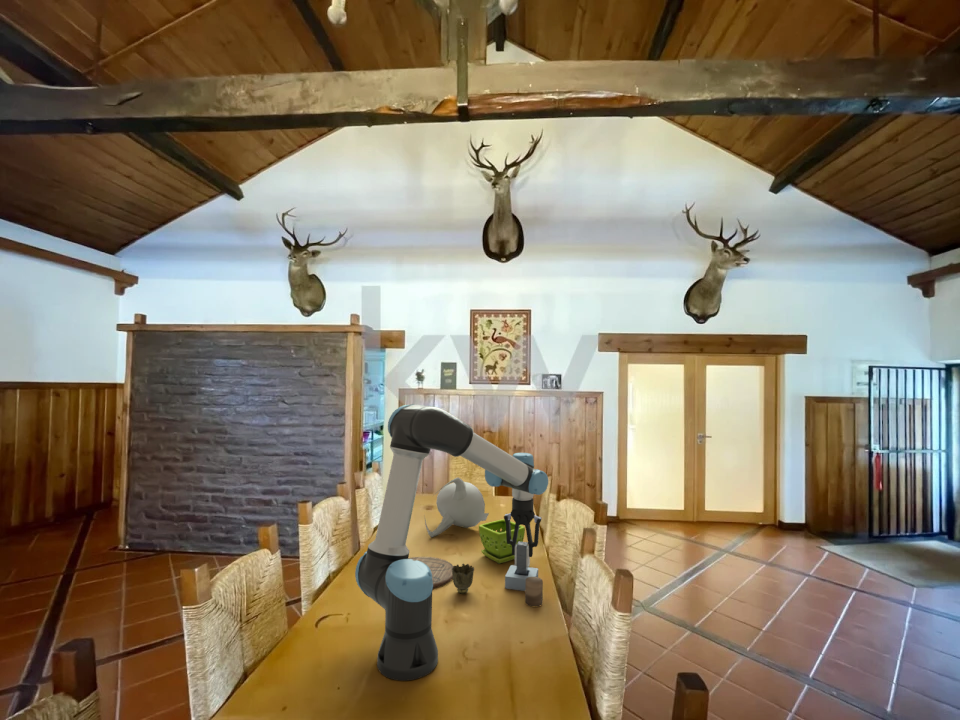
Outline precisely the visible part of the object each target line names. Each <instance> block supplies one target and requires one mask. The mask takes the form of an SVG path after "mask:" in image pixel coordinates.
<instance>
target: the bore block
mask: <svg viewBox="0 0 960 720" xmlns="http://www.w3.org/2000/svg"><path fill="white" fill-rule="evenodd" d="M516 574H517V566H515V564H511V565H510V566H509V568H508V570H507V572H506V573H505V575H504V589H508V590H515V591H522V592H523V591H524V592H525V583H526V578H528V577H538V578H539V568H537V567H530V566H529V568H528V576H524V575H516Z"/></svg>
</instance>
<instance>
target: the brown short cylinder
mask: <svg viewBox="0 0 960 720" xmlns="http://www.w3.org/2000/svg"><path fill="white" fill-rule="evenodd" d="M543 582H544V581H543V579H542V578H541V577H539V576H538V577H528V578H526V583H525V591H524V592H525V593H524V594H525V597H524V599H525V600H524V602H525V604H526V605H527V606H529V607H532V606H538V607H540V605H541V606H542V605H543V604H544V603H543V602H544V601H543V594H544V593H543V590H544V589H543V587H544V586H543Z"/></svg>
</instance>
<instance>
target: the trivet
mask: <svg viewBox="0 0 960 720" xmlns="http://www.w3.org/2000/svg"><path fill="white" fill-rule="evenodd" d="M408 559H413V561H416V560H418V561H421V562H423V563H424V564H426V565H427V566H428V567H429V568H430V570H431V573H432V581H433V589H435V588H439V587H442V586H444V585H446V584H448V583H450V582H451V581H453V575H452V568H453V566H454V565H453V564H452V563H451V562H450V561H447V560H446V559H442V558H439V557H432V556H412V557H408Z"/></svg>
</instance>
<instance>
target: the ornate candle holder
mask: <svg viewBox="0 0 960 720" xmlns="http://www.w3.org/2000/svg"><path fill="white" fill-rule="evenodd" d="M474 571H475V568H474V566H472V565H470V564H469V563H467V564H465V563H462V564H461V566H459V564H456V565H453V568H452V575H453V579H452V582H453V585H454V587H455V588H456V591H457V593H458V594H461V595H464V594H467V593H468V591H469V588H470V587H471V586H472V583H473V581H474Z"/></svg>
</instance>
